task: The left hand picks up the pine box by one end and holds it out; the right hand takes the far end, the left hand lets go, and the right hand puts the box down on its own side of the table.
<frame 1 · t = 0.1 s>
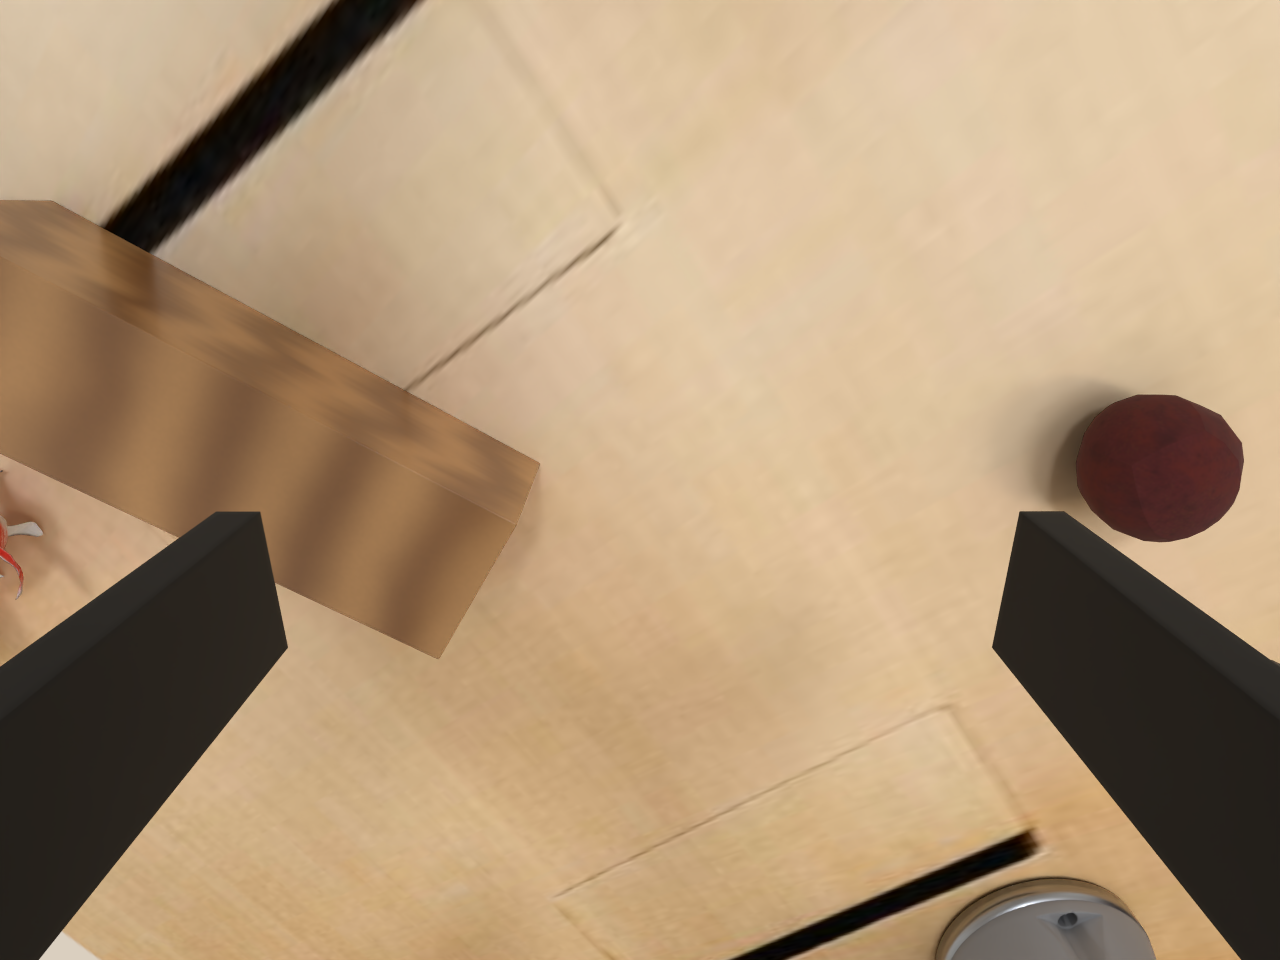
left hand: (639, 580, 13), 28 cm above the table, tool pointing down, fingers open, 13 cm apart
box: (283, 407, 40), on the table
dark red ball: (1112, 444, 41), on the table
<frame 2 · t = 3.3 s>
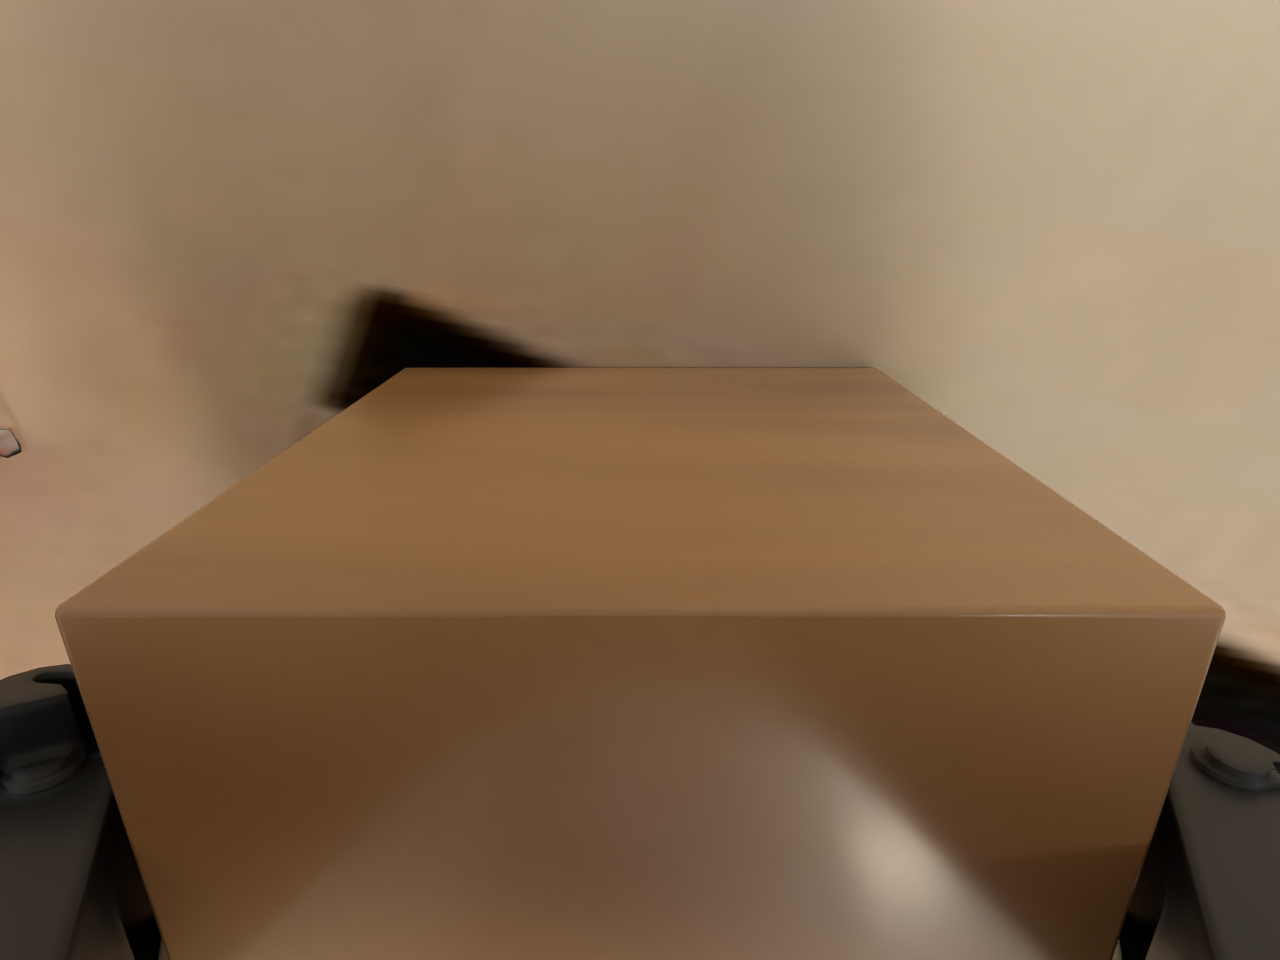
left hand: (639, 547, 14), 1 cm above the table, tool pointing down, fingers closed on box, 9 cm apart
box: (640, 915, 18), on the table, touching left hand
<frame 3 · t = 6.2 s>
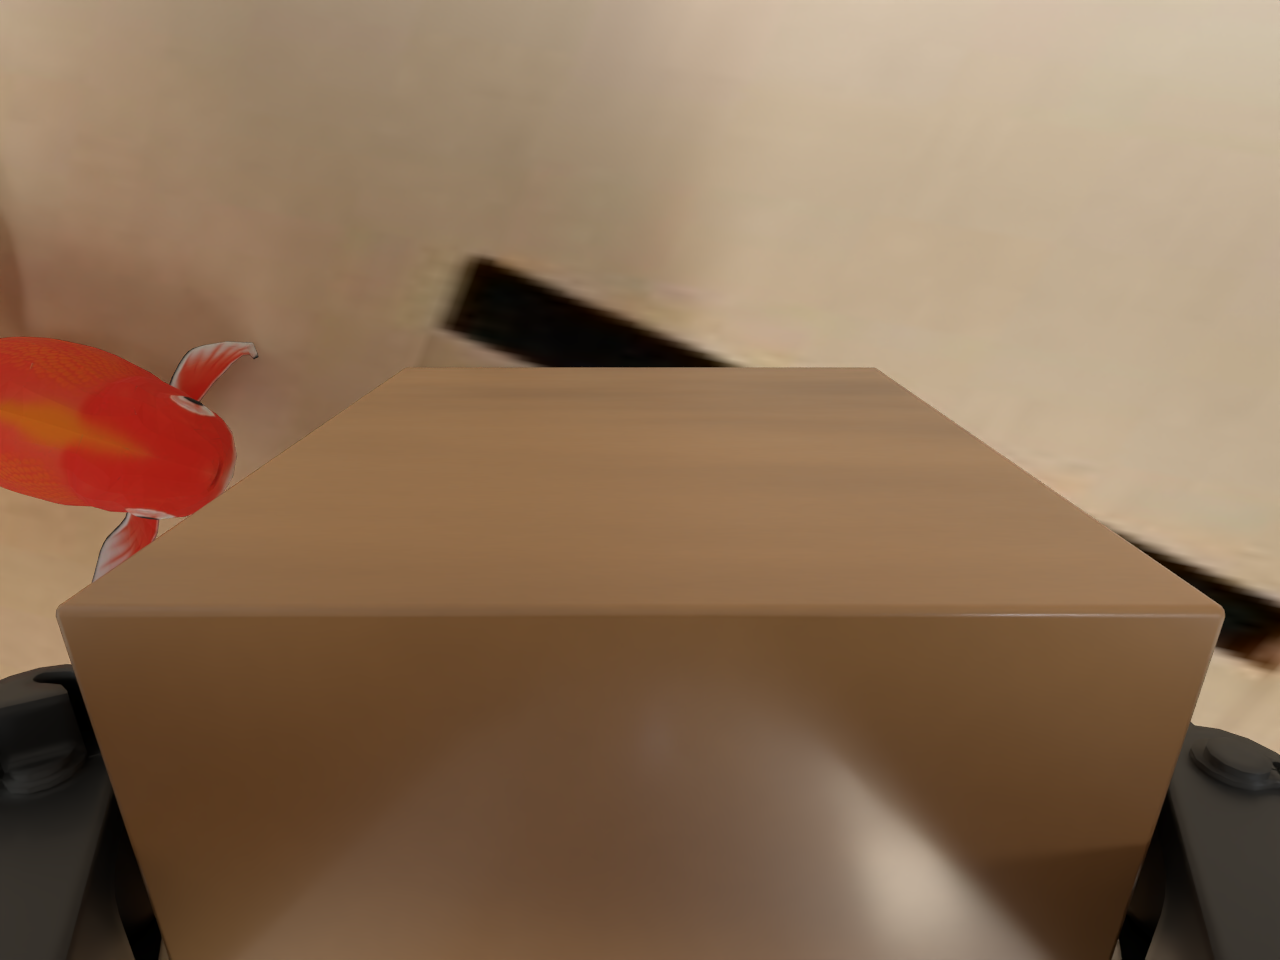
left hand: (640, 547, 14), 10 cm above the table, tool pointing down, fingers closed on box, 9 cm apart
fish: (69, 366, 23), on the table
box: (640, 915, 18), point 9 cm above the table, touching left hand
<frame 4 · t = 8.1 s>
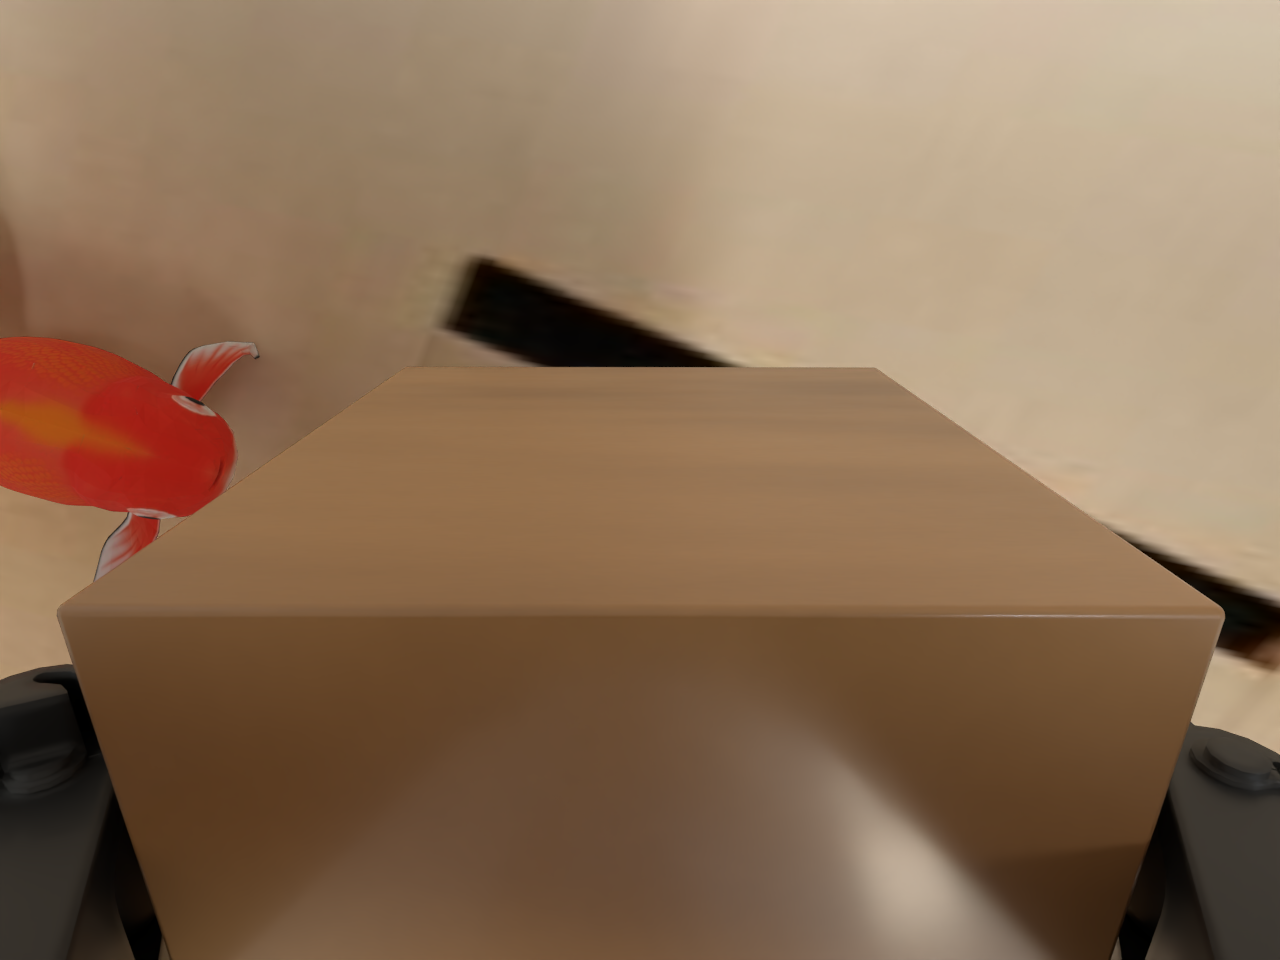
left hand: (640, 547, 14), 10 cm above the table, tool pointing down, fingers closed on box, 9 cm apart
fish: (70, 366, 23), on the table
box: (639, 914, 18), point 9 cm above the table, touching left hand, right hand
when the left hand's fingers open (10 cm above the table, at t = 9.2 s): box stays where it is, held by the right hand.
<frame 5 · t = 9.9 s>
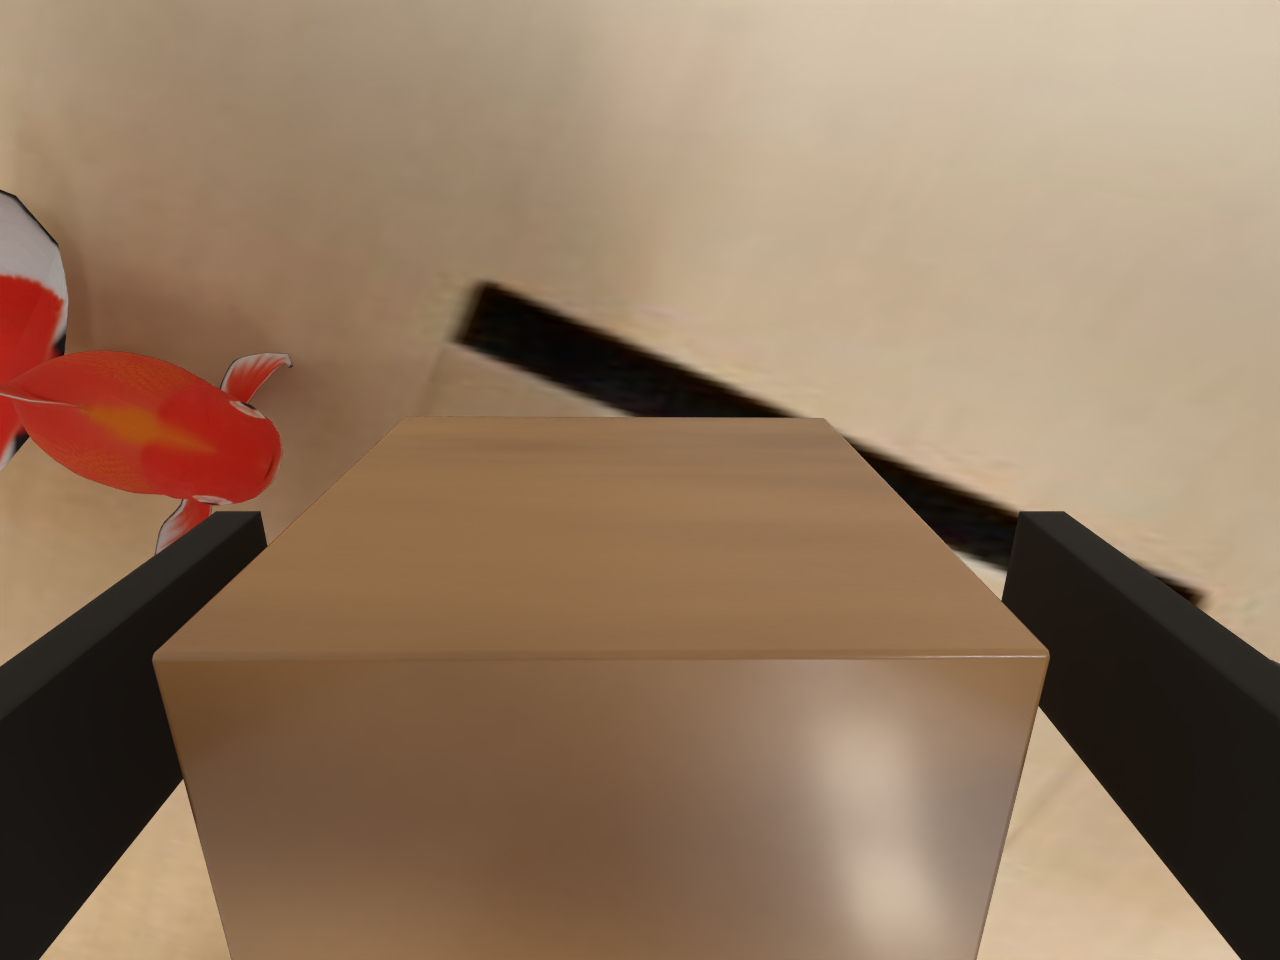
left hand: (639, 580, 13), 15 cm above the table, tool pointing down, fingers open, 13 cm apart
fish: (125, 373, 26), on the table
box: (617, 910, 20), point 12 cm above the table, touching right hand
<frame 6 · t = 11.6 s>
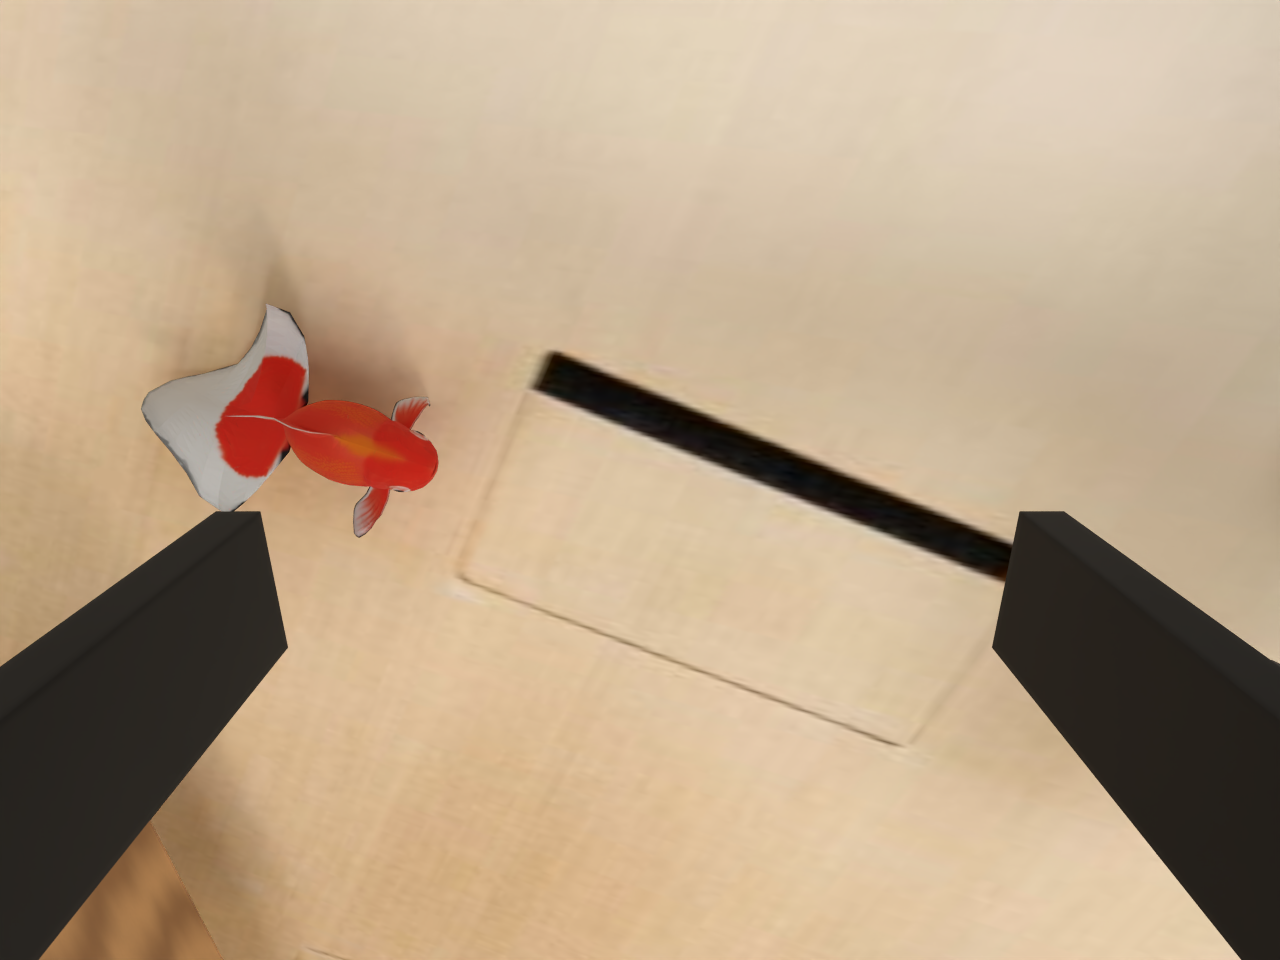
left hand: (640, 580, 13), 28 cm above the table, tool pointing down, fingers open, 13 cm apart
fish: (323, 409, 40), on the table
when the right hand's fingers open (2 cm above the table, at t = 15.2 s): box stays where it is, on the table.
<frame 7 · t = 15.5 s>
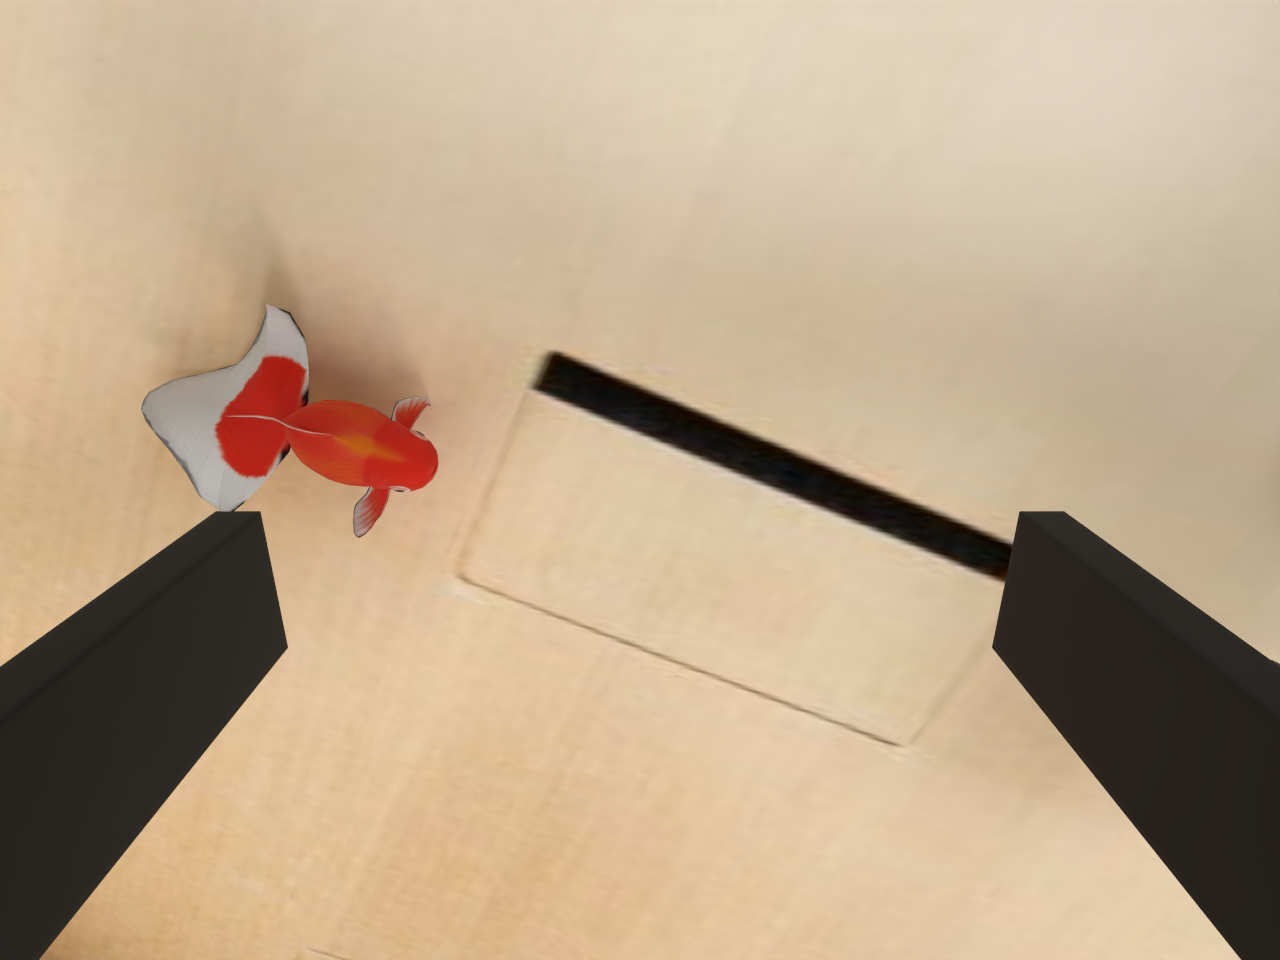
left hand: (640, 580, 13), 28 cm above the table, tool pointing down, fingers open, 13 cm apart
fish: (323, 409, 40), on the table
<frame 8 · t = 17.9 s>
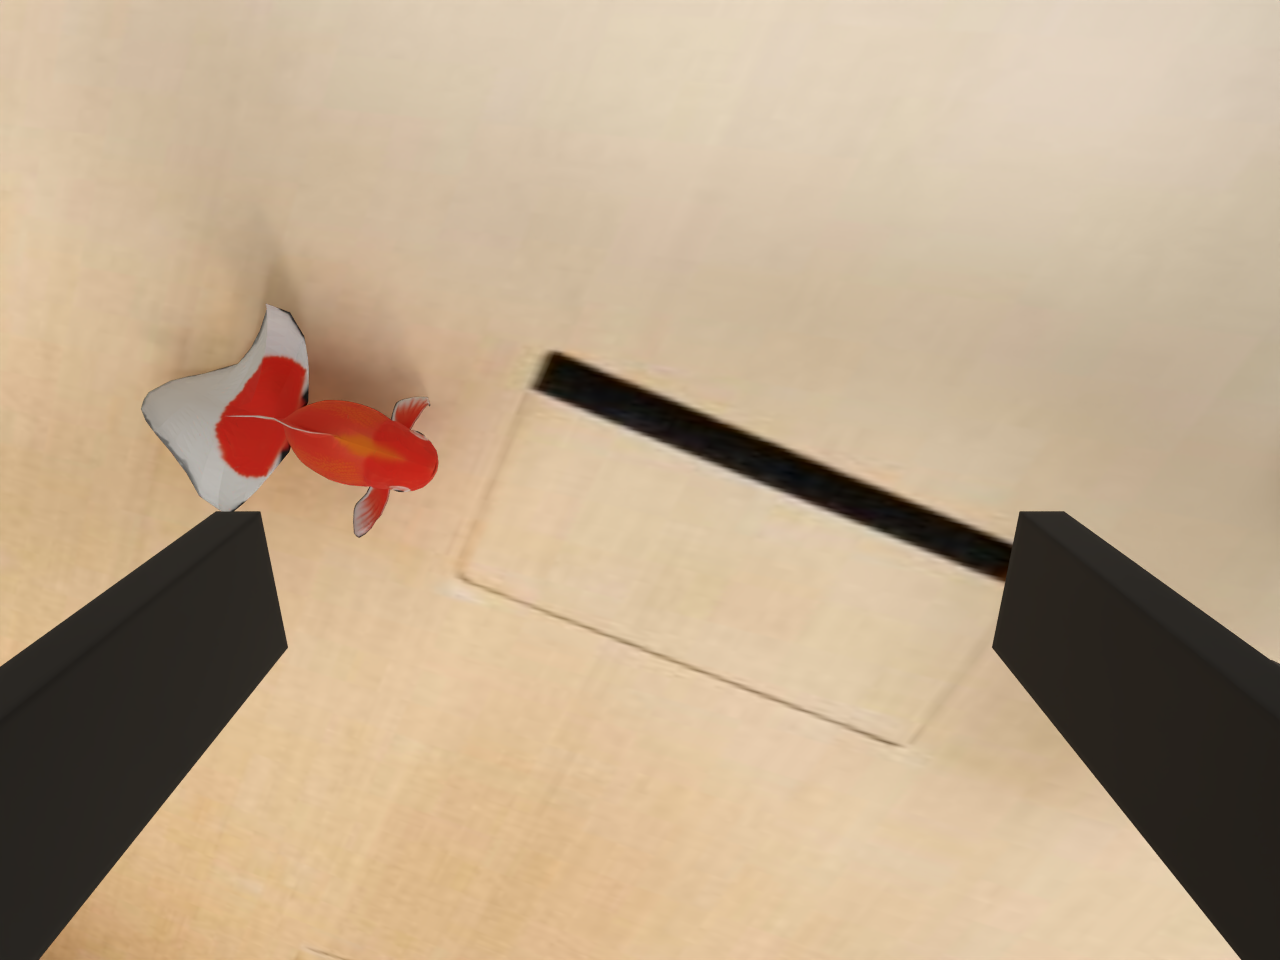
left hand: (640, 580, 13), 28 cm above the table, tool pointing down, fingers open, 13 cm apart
fish: (323, 409, 40), on the table
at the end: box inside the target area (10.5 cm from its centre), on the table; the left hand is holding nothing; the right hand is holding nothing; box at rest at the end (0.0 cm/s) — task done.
